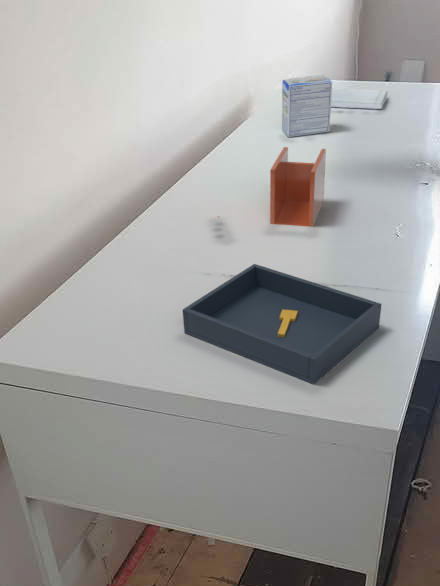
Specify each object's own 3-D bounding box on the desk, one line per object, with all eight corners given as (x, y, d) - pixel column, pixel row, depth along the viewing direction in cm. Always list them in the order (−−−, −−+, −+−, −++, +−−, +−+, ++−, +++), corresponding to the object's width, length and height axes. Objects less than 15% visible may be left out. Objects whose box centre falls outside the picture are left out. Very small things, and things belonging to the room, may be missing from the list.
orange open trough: (283, 202, 107) (283, 146, 102) (323, 205, 106) (326, 148, 100) (270, 227, 100) (270, 169, 95) (312, 230, 99) (315, 171, 94)
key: (282, 312, 82) (282, 309, 82) (297, 313, 82) (297, 310, 81) (272, 336, 78) (272, 333, 78) (289, 338, 78) (289, 334, 77)
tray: (379, 327, 79) (381, 303, 77) (313, 384, 72) (314, 359, 70) (254, 286, 88) (254, 263, 86) (184, 333, 80) (182, 309, 78)
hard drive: (318, 98, 141) (382, 100, 138) (326, 87, 147) (387, 89, 143) (317, 107, 142) (381, 110, 139) (326, 95, 148) (387, 98, 144)
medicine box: (322, 125, 133) (324, 74, 127) (330, 133, 130) (332, 80, 124) (281, 130, 132) (281, 78, 126) (288, 138, 129) (288, 85, 123)
